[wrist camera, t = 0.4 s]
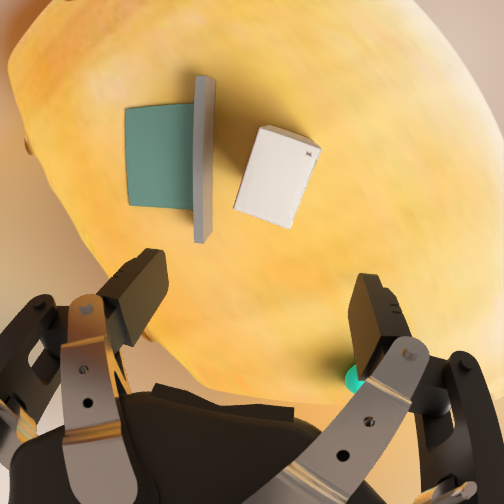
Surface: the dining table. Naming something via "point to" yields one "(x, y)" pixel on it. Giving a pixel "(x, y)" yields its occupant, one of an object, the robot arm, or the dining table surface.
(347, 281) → the dining table surface
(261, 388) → the dining table surface
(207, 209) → the divider wall
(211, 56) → the dining table surface
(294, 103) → the dining table surface
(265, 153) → the small box
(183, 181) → the mat
